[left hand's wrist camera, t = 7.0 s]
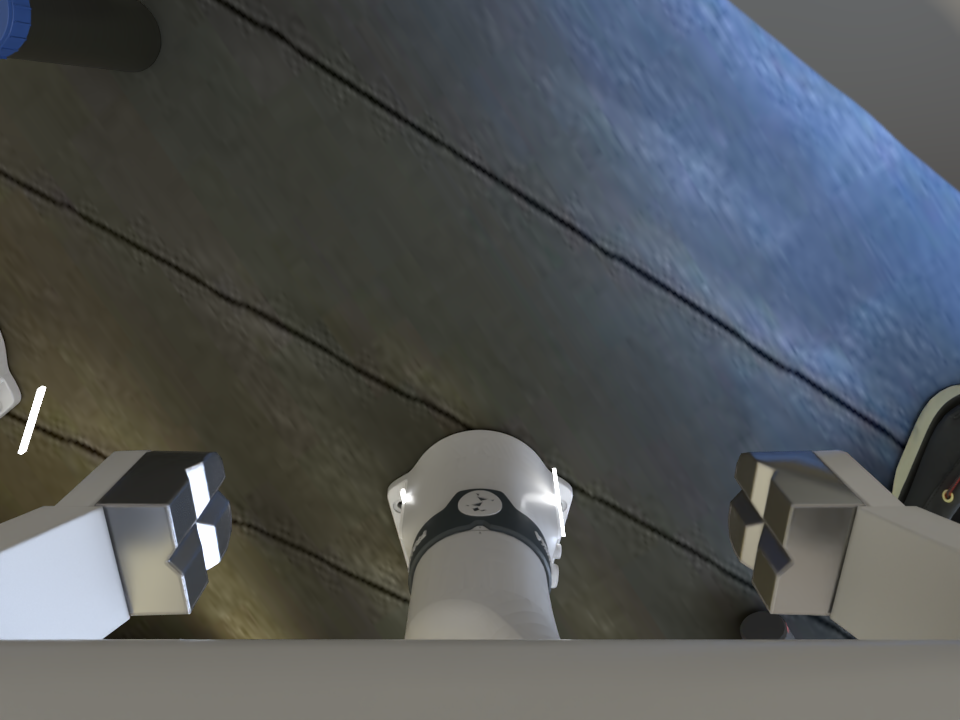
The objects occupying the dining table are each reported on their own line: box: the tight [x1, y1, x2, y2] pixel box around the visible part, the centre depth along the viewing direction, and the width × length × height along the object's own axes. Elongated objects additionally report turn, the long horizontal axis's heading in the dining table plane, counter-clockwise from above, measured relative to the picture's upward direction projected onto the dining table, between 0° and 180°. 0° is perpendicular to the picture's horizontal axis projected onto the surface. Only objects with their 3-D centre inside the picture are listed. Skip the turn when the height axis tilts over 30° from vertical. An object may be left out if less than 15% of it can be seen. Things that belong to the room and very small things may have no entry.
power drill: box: [740, 611, 796, 640], centre depth 73 cm, size 5×19×20 cm
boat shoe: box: [892, 385, 960, 524], centre depth 63 cm, size 13×33×10 cm, turn 172°
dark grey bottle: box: [6, 0, 161, 72], centre depth 43 cm, size 5×5×18 cm
